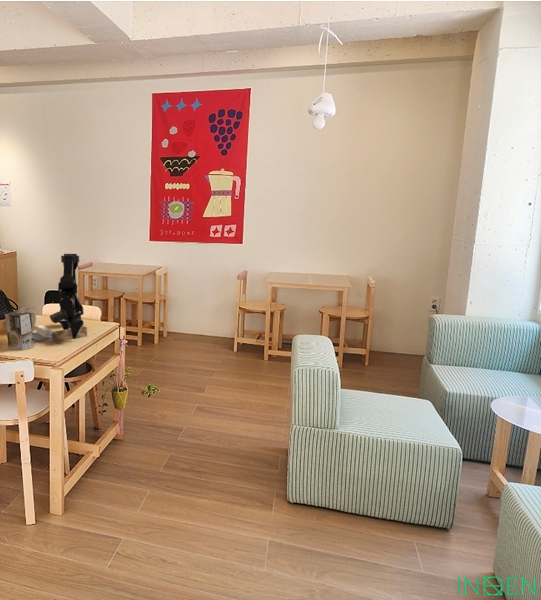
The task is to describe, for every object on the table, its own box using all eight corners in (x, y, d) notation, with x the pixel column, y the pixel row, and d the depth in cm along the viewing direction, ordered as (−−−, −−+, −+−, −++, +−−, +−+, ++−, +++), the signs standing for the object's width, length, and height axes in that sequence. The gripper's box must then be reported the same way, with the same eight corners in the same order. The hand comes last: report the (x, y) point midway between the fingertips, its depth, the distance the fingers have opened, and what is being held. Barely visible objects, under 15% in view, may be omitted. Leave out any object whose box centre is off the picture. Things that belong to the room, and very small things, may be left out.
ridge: (50, 331, 229) (50, 323, 228) (61, 337, 219) (61, 328, 219) (25, 335, 220) (25, 326, 219) (36, 341, 211) (35, 332, 210)
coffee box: (34, 346, 204) (32, 312, 201) (22, 350, 198) (20, 315, 195) (19, 343, 207) (16, 310, 204) (7, 347, 201) (4, 313, 198)
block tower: (32, 335, 224) (37, 320, 250) (31, 319, 222) (36, 305, 248) (14, 336, 221) (21, 320, 247) (13, 320, 219) (20, 306, 245)
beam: (83, 335, 225) (83, 325, 224) (87, 336, 223) (86, 327, 222) (52, 342, 212) (51, 332, 211) (56, 343, 210) (55, 333, 209)
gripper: (43, 304, 215) (45, 335, 218) (59, 311, 202) (61, 343, 205) (66, 301, 223) (68, 331, 226) (83, 308, 210) (84, 339, 213)
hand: (70, 336), depth 217 cm, fingers open, 9 cm apart
